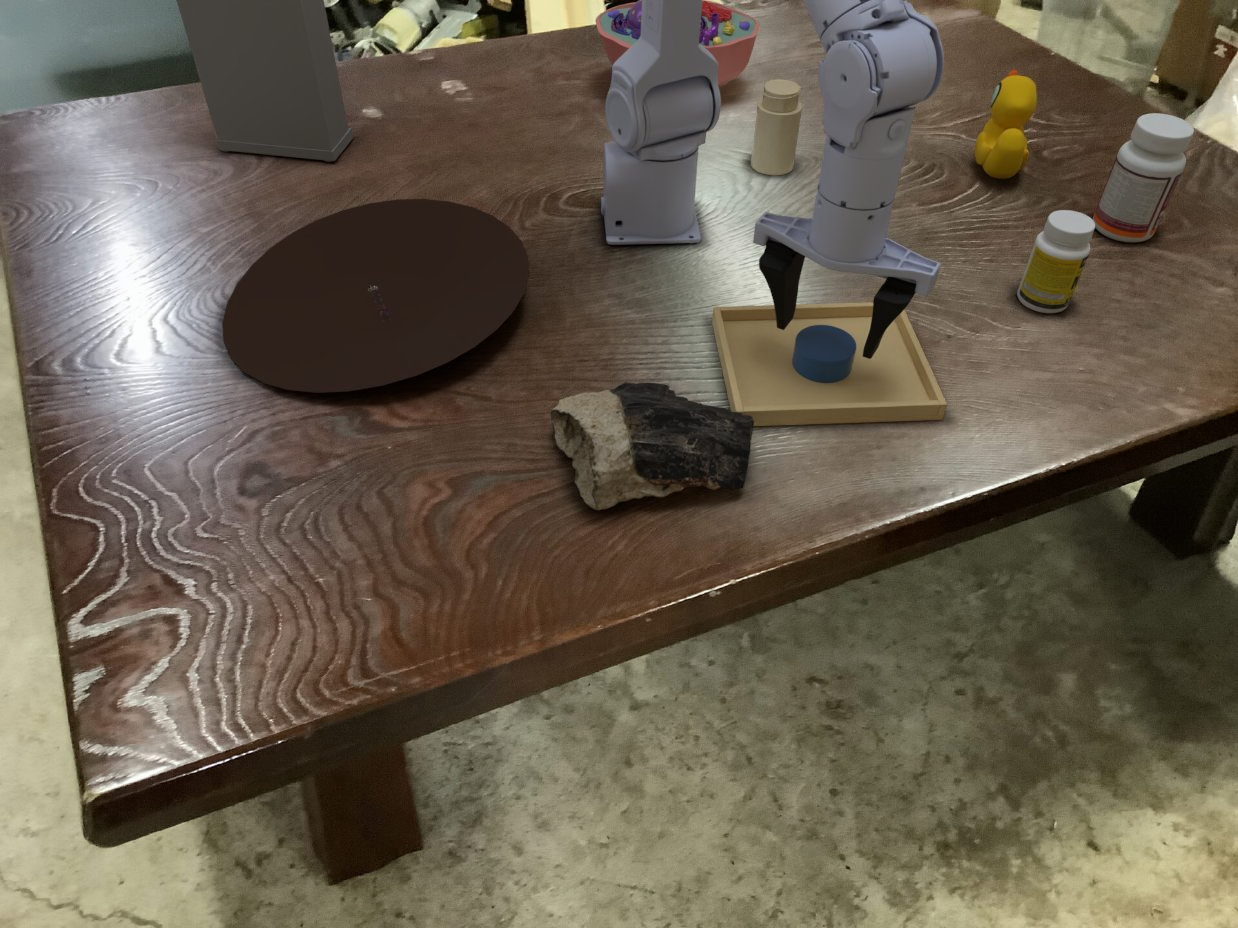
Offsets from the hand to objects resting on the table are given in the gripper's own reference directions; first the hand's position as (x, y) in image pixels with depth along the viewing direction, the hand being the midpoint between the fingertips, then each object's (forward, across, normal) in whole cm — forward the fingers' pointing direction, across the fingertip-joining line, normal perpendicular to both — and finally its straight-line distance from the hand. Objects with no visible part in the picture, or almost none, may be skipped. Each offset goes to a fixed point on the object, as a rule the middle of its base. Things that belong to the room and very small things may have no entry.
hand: (827, 337), depth 82 cm
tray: (+3, 0, 0) cm, 3 cm away
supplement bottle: (+4, -14, -20) cm, 25 cm away
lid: (+1, 0, 0) cm, 1 cm away
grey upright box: (+4, +68, -7) cm, 68 cm away
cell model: (+4, +37, -43) cm, 57 cm away
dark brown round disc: (+4, +39, +12) cm, 41 cm away
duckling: (+4, -4, -43) cm, 44 cm away
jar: (+3, +18, -31) cm, 36 cm away
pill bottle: (+4, -18, -37) cm, 42 cm away
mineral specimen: (+4, +7, +17) cm, 18 cm away
